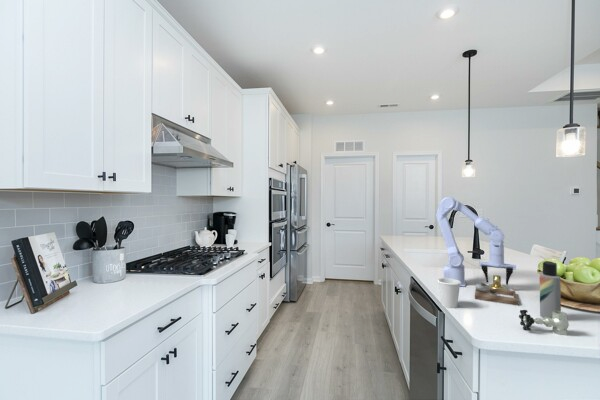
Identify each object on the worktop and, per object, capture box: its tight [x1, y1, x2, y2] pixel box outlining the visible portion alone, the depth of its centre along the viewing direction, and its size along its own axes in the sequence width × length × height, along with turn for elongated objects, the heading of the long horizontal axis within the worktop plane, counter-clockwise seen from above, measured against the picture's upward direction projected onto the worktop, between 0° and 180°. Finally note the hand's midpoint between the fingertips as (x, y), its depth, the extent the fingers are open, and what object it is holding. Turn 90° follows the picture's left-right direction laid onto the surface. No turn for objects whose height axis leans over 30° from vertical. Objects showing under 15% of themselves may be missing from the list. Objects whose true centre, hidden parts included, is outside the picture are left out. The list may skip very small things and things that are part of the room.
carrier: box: [474, 282, 519, 306], centre depth 128 cm, size 15×16×5 cm
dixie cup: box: [437, 278, 461, 309], centre depth 118 cm, size 8×8×10 cm
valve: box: [518, 309, 570, 336], centre depth 94 cm, size 7×7×12 cm
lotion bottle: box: [539, 260, 562, 319], centre depth 105 cm, size 6×6×20 cm
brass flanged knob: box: [487, 274, 507, 290], centre depth 138 cm, size 7×7×6 cm
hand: (496, 283), depth 138 cm, fingers open, 7 cm apart
